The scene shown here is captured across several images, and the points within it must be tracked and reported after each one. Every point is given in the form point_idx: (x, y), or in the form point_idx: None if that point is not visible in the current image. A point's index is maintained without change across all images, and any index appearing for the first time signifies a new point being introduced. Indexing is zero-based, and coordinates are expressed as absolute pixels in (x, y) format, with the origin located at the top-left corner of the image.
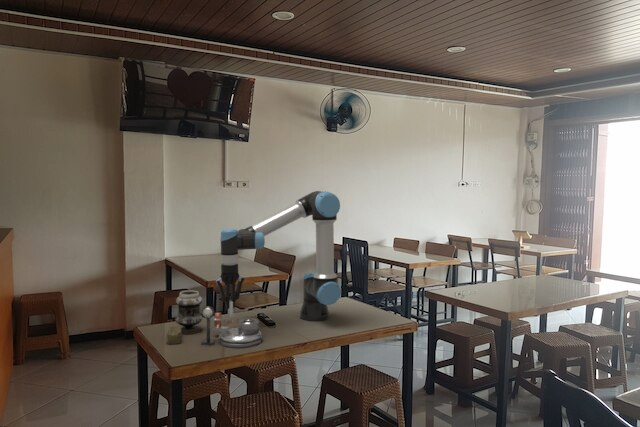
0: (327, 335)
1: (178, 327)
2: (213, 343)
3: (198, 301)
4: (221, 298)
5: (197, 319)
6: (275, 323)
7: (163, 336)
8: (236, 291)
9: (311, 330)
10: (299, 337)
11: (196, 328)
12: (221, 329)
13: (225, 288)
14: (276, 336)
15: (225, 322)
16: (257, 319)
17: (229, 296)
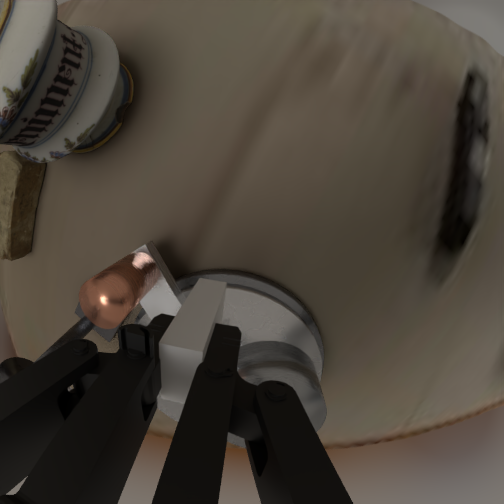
0: (453, 411)
1: (9, 179)
2: (116, 331)
3: None
4: (64, 349)
5: (59, 152)
6: (469, 236)
7: None
8: (273, 482)
9: (470, 366)
10: (406, 408)
11: (104, 118)
12: (148, 310)
13: (41, 476)
14: (369, 380)
15: (300, 60)
16: (322, 419)
17: (140, 444)
